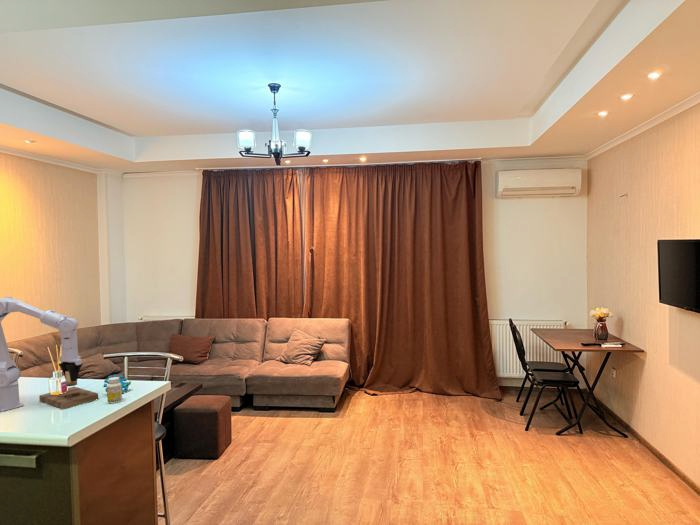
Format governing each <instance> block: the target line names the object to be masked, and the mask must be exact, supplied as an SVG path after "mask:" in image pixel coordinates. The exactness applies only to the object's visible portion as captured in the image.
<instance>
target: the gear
mask: <svg viewBox="0 0 700 525" xmlns="http://www.w3.org/2000/svg"><path fill="white" fill-rule="evenodd" d="M113 377H119V382H120V383H121V388H122V394H125V392H126V391H127V390H128V389H129V386H130V385H132V381H131V380H130V381H127V380H128V379H127V377H123V375H122V374H120V375H119V376H118V374H113ZM109 378H112V375H109V376H108V377H107V378H106V379H105V380H104V381H103V382H104V384H103V386H102V387H103V388H105V390H104V391H105V392H106V393H107V385H108V384H109V382H108V379H109ZM122 378H123V379H122Z"/></svg>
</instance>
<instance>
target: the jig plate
mask: <svg viewBox="0 0 700 525" xmlns="http://www.w3.org/2000/svg"><path fill="white" fill-rule="evenodd" d="M67 388H68V391H67V392H66V393H63V394H59V395H51V394H50V393H51V392H48V393H44V394H40V395H39V396H38V397H39V398H38V399H39V402H40V403H43V404H45V405H48V406H50V407H51V406H52V407H55V408H57V409H60V410H62V409H63V410H66V409H70V408H73V406H74V407H76V405H77V406H80V405H79V404H81V405H83V404H82V403H84V404H87V403H86V402H88V403H90V402H89V401H91V402H94V401H93V400H95V401H97V400H96V399H98V400H99V393H98V392H94V391H91V390H88V389H84V388H81V387H77V386H70V387H67Z"/></svg>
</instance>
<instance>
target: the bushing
mask: <svg viewBox="0 0 700 525" xmlns="http://www.w3.org/2000/svg"><path fill="white" fill-rule="evenodd" d="M65 375H66V379H65V386H66V387H76V385H78V380H77V381H73V382H71V380H70V374H69V371H68V370H66V371H65Z"/></svg>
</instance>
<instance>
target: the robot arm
mask: <svg viewBox="0 0 700 525" xmlns="http://www.w3.org/2000/svg"><path fill="white" fill-rule="evenodd" d="M17 312H19V313H22V314H25V315H27V316H31V317H33V318H37V319H39V320H40V322H41V324H43V325H46V326H49V327H51V328H54V329H56V330H58V332H60V343H61V344H60V346H61V347H60V348H61V355H60V356H59V358H58V359H59V360H58V361H59V362H60V363H58V366H59V368H60V369H61V370H62V373H63V377H64V378H65V380H66V375H65V371H66V370H68V371H69V374H70V380H71V382H73V381H77V382H78V378H79V373H80V370H81V368H82V366H83V363H82V361H83V360H82V359H81V358H82V356H81V355H79V348H78V346H79V345H78V333H77V332H78V331H77V329H78V328H79V321H78V320H77V319H76V318H74V316H69V317H68V315H66V314H64V315H63V314H61V313H59V312H56V310H55V309H51V310H49V309H48V310H42V309H40V308H37V307H35V306H33V305H31V304H29V303H26V302H24V301H22V300H20V299H18V298H13V297H11V296H5V297H1V298H0V412H5V410H6V411H8V410H9V411H10V410H13V409H16V408H17V409H18V408H20V407H21V408H22V407H23V406H25V404H23V403H21V402H20V388H19V379H20V378H21V375H22V374H21V373H22V372H21V369H20V368H19V367H17V364H16V362H15V361H14V360H13V359H12V358H11V354H10V351H9V347H8V344H7V340H6V336H5V333H4V328H3V325H2V321H3V320H4V319H5V318H6V316H8V315H9V314H10V313H11V314H12V313H17Z"/></svg>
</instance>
